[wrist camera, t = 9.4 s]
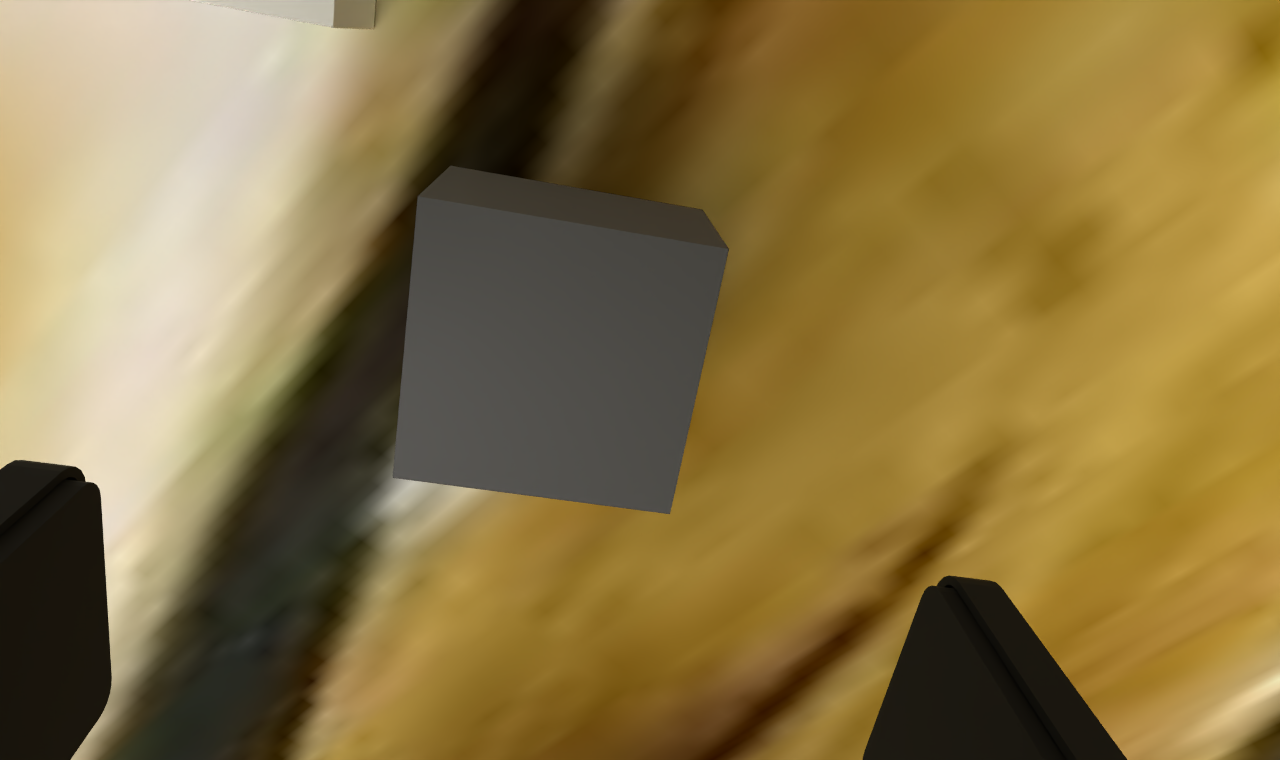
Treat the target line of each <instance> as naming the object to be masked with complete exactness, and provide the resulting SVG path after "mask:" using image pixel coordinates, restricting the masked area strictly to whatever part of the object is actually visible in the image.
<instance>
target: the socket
mask: <svg viewBox="0 0 1280 760" xmlns="http://www.w3.org/2000/svg"><path fill="white" fill-rule="evenodd" d="M190 1H195V2H201V3H206V4H211V5H217V6H222V7H227V8H232V9H238V10H243V11H248V12H253V13H259V14H264V15H269V16H274V17H280V18H285V19H290V20H295V21H301V22H306V23H311V24H316V25H322V26H327V27H332V28H354V29H374V19H375V3H376V0H190Z"/></svg>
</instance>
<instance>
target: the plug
mask: <svg viewBox="0 0 1280 760" xmlns="http://www.w3.org/2000/svg"><path fill="white" fill-rule="evenodd" d="M728 251H729V249H728V247H727V246H726V244H725V243H724V241H723V240H722V238H721V237H720V235H719V234H718V232H717V231H716V229H715V228H714V226H713V225H712V223H711V222H710V220H709V219H708V217H707V216H706V214H705V213H704V211H703V210H701V209H695V208H690V207H684V206H678V205H672V204H667V203H661V202H655V201H650V200H644V199H638V198H632V197H627V196H621V195H615V194H610V193H604V192H598V191H592V190H587V189H581V188H575V187H570V186H564V185H558V184H552V183H547V182H541V181H535V180H529V179H524V178H518V177H512V176H507V175H501V174H495V173H489V172H484V171H478V170H472V169H467V168H461V167H455V166H450V167H449V168H448V169H446V170H445V171H444V172H443V173H442V174H441V175H440V176H439V177H438V178H437V179H436V180H435V181H434V182H433V183H431V184H430V185H429V186H428V187H427V188H426V189H425V190H424V191H423V192H422V193H421V194H420V195H419V196H418V201H417V212H416V223H415V234H414V246H413V257H412V268H411V279H410V290H409V301H408V313H407V324H406V335H405V346H404V357H403V369H402V380H401V391H400V402H399V413H398V424H397V436H396V447H395V458H394V469H393V478H399V479H406V480H414V481H422V482H429V483H437V484H445V485H452V486H460V487H467V488H475V489H483V490H490V491H498V492H505V493H513V494H521V495H528V496H536V497H544V498H551V499H559V500H566V501H574V502H582V503H589V504H597V505H605V506H612V507H620V508H627V509H635V510H643V511H650V512H658V513H665V514H670V511H671V507H672V502H673V498H674V493H675V489H676V484H677V480H678V475H679V471H680V466H681V462H682V457H683V453H684V448H685V444H686V439H687V435H688V430H689V426H690V421H691V417H692V412H693V408H694V403H695V399H696V394H697V390H698V385H699V381H700V376H701V372H702V367H703V363H704V358H705V354H706V349H707V345H708V340H709V336H710V331H711V327H712V322H713V318H714V313H715V309H716V305H717V300H718V296H719V291H720V287H721V282H722V278H723V273H724V269H725V264H726V260H727V255H728Z"/></svg>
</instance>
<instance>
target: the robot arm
mask: <svg viewBox="0 0 1280 760" xmlns="http://www.w3.org/2000/svg"><path fill="white" fill-rule="evenodd" d="M111 680H112V676H111V659H110V643H109V626H108V609H107V592H106V576H105V559H104V542H103V525H102V509H101V495H100V490H99V488H98V486H97V485H96V484H94V483H91V482H85V477H84V475H83V473H82V471H81V470H80V469H78V468H77V467H73V466H65V465H57V464H49V463H41V462H33V461H25V460H15V461H13V462H11V463H9V464H7V465H6V466H4V467H3V468H2V469H1V470H0V760H70V759H71V758H72V756H73V755H74V754H75V752H76V751H77V749H78V748H79V746H80V745H81V744H82V742H83V741H84V739H85V738H86V736H87V735H88V733H89V732H90V731H91V729H92V728H93V726H94V725H95V723H96V722H97V721H98V719H99V718H100V716H101V714H102V712H103V711H104V708H105V706H106V704H107V701H108V698H109V694H110V690H111ZM863 760H1127V759H1126V757H1125V756H1124V755H1123V753H1122V752H1121V750H1120V749H1119V748H1118V746H1117V745H1116V744H1115V742H1114V741H1113V740H1112V738H1111V737H1110V735H1109V734H1108V733H1107V731H1106V730H1105V729H1104V727H1103V726H1102V724H1101V723H1100V722H1099V720H1098V719H1097V718H1096V716H1095V715H1094V714H1093V712H1092V711H1091V709H1090V708H1089V707H1088V705H1087V704H1086V703H1085V701H1084V700H1083V698H1082V697H1081V696H1080V694H1079V693H1078V692H1077V690H1076V689H1075V688H1074V686H1073V685H1072V683H1071V682H1070V681H1069V679H1068V678H1067V677H1066V675H1065V674H1064V672H1063V671H1062V670H1061V668H1060V667H1059V666H1058V664H1057V663H1056V662H1055V660H1054V659H1053V657H1052V656H1051V655H1050V653H1049V652H1048V651H1047V649H1046V648H1045V646H1044V645H1043V644H1042V642H1041V641H1040V640H1039V638H1038V637H1037V636H1036V634H1035V633H1034V631H1033V630H1032V629H1031V627H1030V626H1029V625H1028V623H1027V622H1026V620H1025V619H1024V618H1023V616H1022V615H1021V614H1020V612H1019V611H1018V610H1017V608H1016V607H1015V605H1014V604H1013V603H1012V601H1011V600H1010V599H1009V597H1008V596H1007V594H1006V593H1005V592H1004V590H1003V589H1002V588H1001V587H1000V586H999V585H998V584H997V583H996V582H993V581H988V580H980V579H972V578H964V577H956V576H946V577H943V578H942V579H941V581H940V582H939V583H938V585H937V586H930V587H928V588H927V589H926V590H925V591H924V593H923V595H922V597H921V600H920V603H919V605H918V608H917V611H916V613H915V616H914V619H913V622H912V624H911V627H910V630H909V632H908V635H907V638H906V641H905V643H904V646H903V649H902V651H901V654H900V657H899V660H898V662H897V665H896V668H895V670H894V673H893V676H892V678H891V681H890V684H889V687H888V689H887V692H886V695H885V697H884V700H883V703H882V706H881V708H880V711H879V714H878V716H877V719H876V722H875V725H874V727H873V730H872V733H871V735H870V738H869V741H868V743H867V746H866V749H865V752H864V756H863Z"/></svg>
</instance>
